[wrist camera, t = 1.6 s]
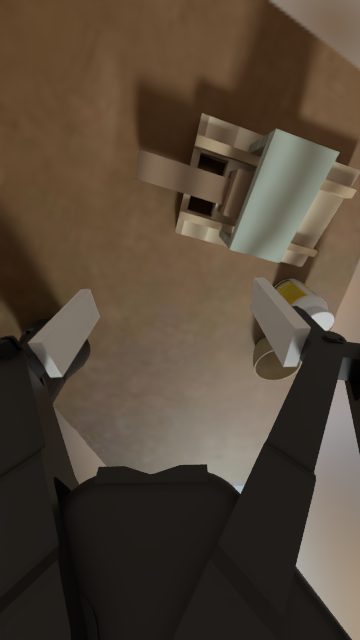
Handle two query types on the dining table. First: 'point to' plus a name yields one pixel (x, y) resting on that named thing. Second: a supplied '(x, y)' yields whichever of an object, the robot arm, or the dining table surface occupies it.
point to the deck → (242, 143)
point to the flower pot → (270, 363)
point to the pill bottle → (306, 301)
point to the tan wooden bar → (196, 182)
